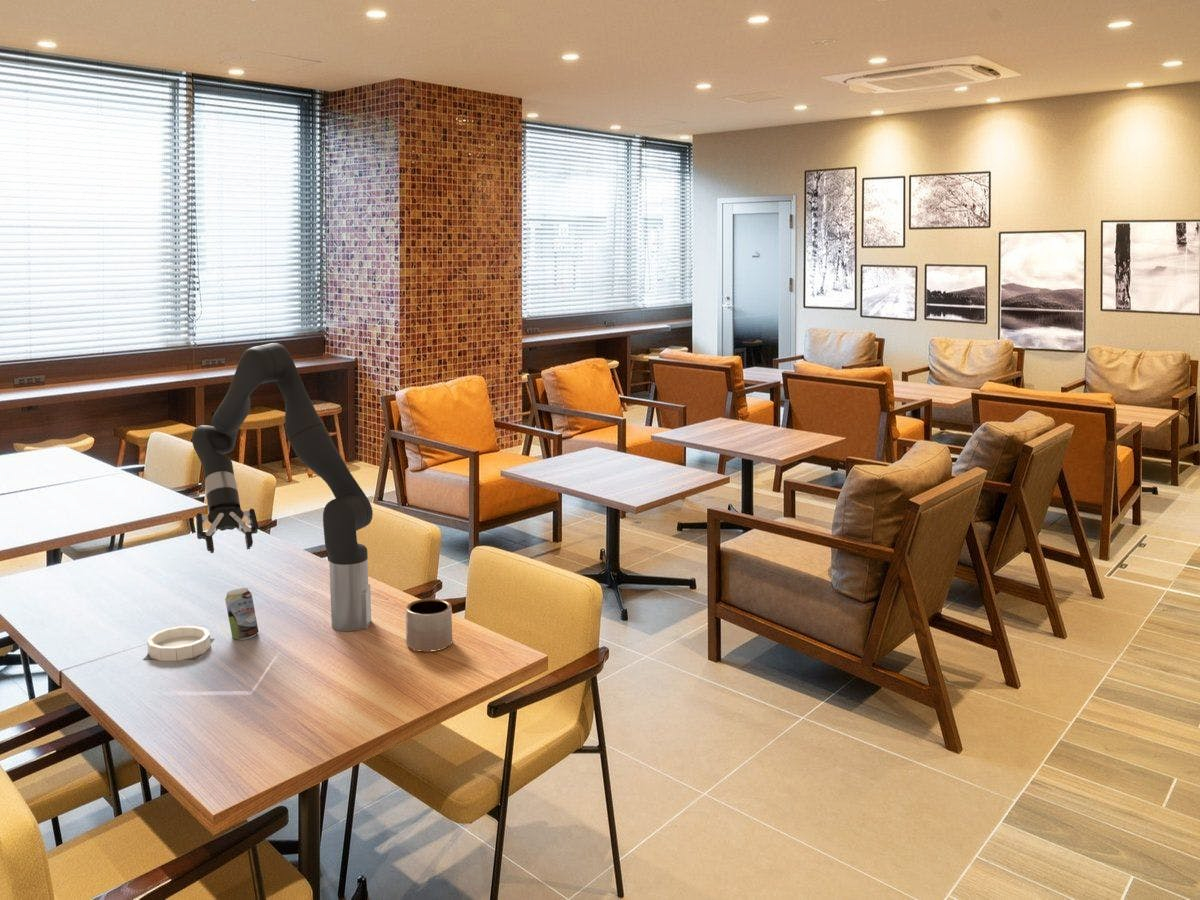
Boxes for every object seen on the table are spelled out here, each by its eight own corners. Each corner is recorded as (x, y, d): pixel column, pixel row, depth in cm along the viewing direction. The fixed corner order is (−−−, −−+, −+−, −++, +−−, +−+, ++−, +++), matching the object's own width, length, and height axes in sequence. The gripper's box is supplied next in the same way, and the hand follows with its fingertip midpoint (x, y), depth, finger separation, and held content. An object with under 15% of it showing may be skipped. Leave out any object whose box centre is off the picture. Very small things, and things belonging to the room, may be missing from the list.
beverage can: (250, 644, 227) (247, 596, 224) (221, 641, 228) (218, 593, 226) (264, 634, 233) (261, 587, 231) (236, 631, 234) (233, 584, 232)
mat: (215, 640, 228) (214, 638, 228) (197, 662, 217) (196, 659, 216) (163, 640, 228) (163, 638, 228) (142, 662, 216) (142, 659, 216)
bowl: (217, 637, 229) (217, 625, 228) (198, 660, 216) (197, 648, 215) (162, 637, 228) (161, 625, 227) (139, 660, 215) (138, 648, 215)
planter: (414, 656, 222) (413, 617, 220) (400, 639, 232) (400, 602, 230) (458, 648, 227) (458, 610, 225) (443, 632, 237) (443, 595, 235)
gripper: (192, 488, 238) (200, 546, 230) (253, 483, 244) (262, 539, 237) (191, 503, 243) (199, 560, 236) (250, 498, 250) (259, 553, 243)
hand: (230, 549), depth 237 cm, fingers open, 8 cm apart
